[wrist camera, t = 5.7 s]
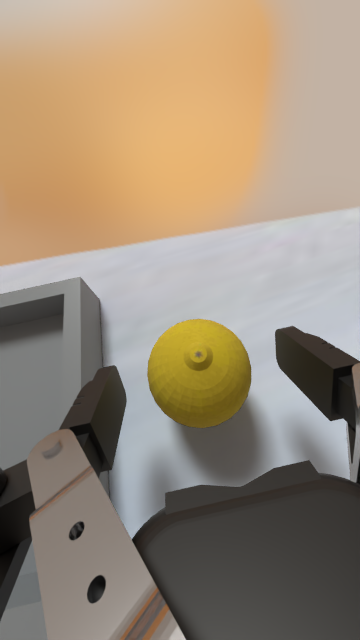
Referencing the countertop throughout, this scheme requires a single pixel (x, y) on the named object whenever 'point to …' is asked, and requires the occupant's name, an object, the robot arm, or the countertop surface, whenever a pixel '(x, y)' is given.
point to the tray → (41, 400)
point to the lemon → (199, 373)
